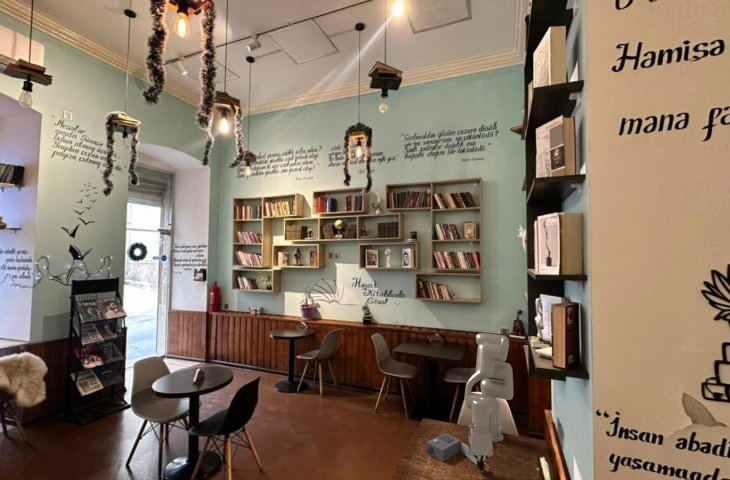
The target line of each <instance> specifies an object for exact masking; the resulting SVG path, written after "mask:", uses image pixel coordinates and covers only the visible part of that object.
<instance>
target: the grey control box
mask: <svg viewBox="0 0 730 480" xmlns="http://www.w3.org/2000/svg"><path fill="white" fill-rule="evenodd" d="M461 442H462V439H460V438H457V437H455V436H453V435H450V434H449V433H446V432H444V433H442V434H440V435H438V436H436V437H434V438H432V439H430V440H428V441H426V454H427V455H429V456H430V457H433V458H435V459H436V460H439V461H440V462H442V463H444V462H446V461H447V460H449V459H451V458H452V457H454V456H456V455H457V454H459V453H462V452H461Z"/></svg>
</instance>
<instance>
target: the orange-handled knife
mask: <svg viewBox="0 0 730 480" xmlns="http://www.w3.org/2000/svg"><path fill="white" fill-rule="evenodd" d="M460 453H462V454H463V455H464V456H465V457H467V458H468V459H469V460H470V461H471V462H472V463H474V464H475V465H476V466H477V459H476V458H475V457H473V456H470V455H469V445H466V444H465V443H464V441H461V452H460ZM480 458H481V456H480ZM484 471H486V472H490V466H489V464H487V463H486V461H485V462H484Z"/></svg>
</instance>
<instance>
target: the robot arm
mask: <svg viewBox="0 0 730 480" xmlns="http://www.w3.org/2000/svg"><path fill="white" fill-rule="evenodd" d="M475 341H476V344H477V352H476V362H475V363H476V365H475V372H474V373H473V374H472V375H471V376H470V377H469V379H468V380H467V381H466V384H465V391H464V405H465V407H466V408H467V409H470V410H471V424H468V429H469V428H472V429H471V430H470V436H469V435H468V447H469V455H470V456H473V457H475V458H476V459H477V465H476V467H477V468H478V470H479V471H480V472H481V471H482V472H483V471H485V469H484V462H485V463H486V460H487V459H488V458H490V457H493V455H494V446H493V442H494V443H497V442H498V443H499V442H502V441H503V440H504V435H503V434H502V433H501V431H502V430H503V429H504V427H503V426H502V425H501V406H500V403H499V401H498V399H500V400H507V401H510V400H513V398H514V377H513V367H512V365H511V364H510V363H509V362H505V361H506V360H507V357H508V353H509V348H510V342H509V339H508V336H506V335H504V334H496V333H495V334H494V333H487V332H486V333H484V332H483V333H482V332H480V333H477V334H476V335H475ZM478 382H480V392H481V393H476V392H472V390H473V387H474V385H476V383H478ZM480 457H481V458H480Z"/></svg>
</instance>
